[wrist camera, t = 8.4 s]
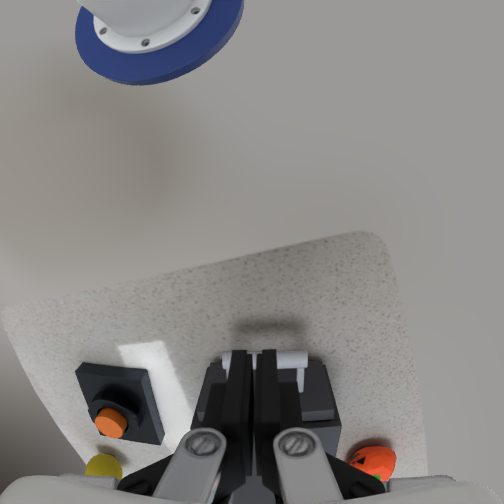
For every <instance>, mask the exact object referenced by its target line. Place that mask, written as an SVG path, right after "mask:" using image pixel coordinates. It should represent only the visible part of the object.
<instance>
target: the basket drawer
mask: <svg viewBox="0 0 504 504" xmlns="http://www.w3.org/2000/svg"><path fill="white" fill-rule="evenodd" d="M257 353H262V352H247V354H252V356H253V375H254V395H255V380H256V357H257ZM276 354H277V371H278V382H289V381H297V383H298V389H299V396H300V404H301V411H302V419H303V423H310V422H322V420H329V419H333V417H334V410H335V409H334V405H333V402H332V398H331V394H330V390H329V386H328V382H327V379H326V375H325V371H324V368H323V364H322V361H308V353H307V350H297V351H276ZM231 355H232V352H223V355H222V363H211V364H210V368H209V371H208V375H207V378H206V382H205V385H204V389H203V393H202V396H201V400H200V403H199V407H198V411H197V414H198V419H199V421H201V422H203V418H204V414H205V409H206V405H207V401H208V396H209V392H210V388H211V384H212V382H227V379H228V373H229V367H230V361H231Z"/></svg>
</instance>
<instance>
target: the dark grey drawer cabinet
mask: <svg viewBox="0 0 504 504" xmlns="http://www.w3.org/2000/svg"><path fill="white" fill-rule="evenodd" d="M209 368H210V367H208V368H207V372H206V375H205V378H204V382H203V385H202V389H201V392H200V396H199V399H198V403H197V406H196V410H195V413H194V417H193V420H192V424H191V427H190V429H191V430H194V429H197V428H201V427H202V422H201V421H199V419H198V414H197V411H198V407H199V403H200V400H201V396H202V393H203V389H204V385H205V382H206V378H207V375H208V371H209ZM323 368H324V371H325V375H326V379H327V382H328V386H329V390H330V394H331V398H332V402H333V405H334V409H335V410H334V417H333V419H329V420H322V422H310V423H303V427H304V428H306V429H308V430H311V431H313V432H314V433H315V434H316V435H317V436H318V437H319V439H320V441H321V444H322V447H323V449H324V451H325V452H326V453H328V454H330V455H332V456H334V457H335V456H336V452H337V447H338V442H339V437H340V432H341V427H342V425H341V421H340V417H339V413H338V410H337V406H336V402H335V398H334V395H333V391H332V387H331V384H330V380H329V376H328V373H327V369H326V366H325V365H323ZM232 504H274V499H273V492H272V491H270V490H269V489H267V488H266V487H265V486H263V484H262V476H257V471H256V455H255V439H254V447H253V468H252V476H246V484H244V485H243V486H241V487H240V488H238V489H237V490H235V494H234V499H233V502H232Z"/></svg>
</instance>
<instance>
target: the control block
mask: <svg viewBox="0 0 504 504" xmlns="http://www.w3.org/2000/svg"><path fill="white" fill-rule="evenodd" d="M75 373H76V376H77V379H78V381H79V384H80V387H81V390H82V392H83V395H84V397H85V400H86V402H87V405H88V407H89V409H88V412H89V415H90V417H91V419H92V421H93V422H94V423H95V419H96V417H97V416H98V414H99V413H100V411H101V410H102V409H103V408H111V409H113V410H115V411H117V412H119V413H120V414H121V415H122V416H123V417H124V418H125V419H126V421H127V427H126V429H125V431H124V433H123V435H122V436H121V437H120V438H118V439H123V440H129V441H135V442H141V443H147V444H154V445H161V443H162V440H163V437H164V431H163V428H162V425H161V421H160V418H159V414H158V411H157V407H156V404H155V400H154V396H153V393H152V389H151V385H150V381H149V377H148V373H147V370H143V369H132V368H123V367H114V366H105V365H97V364H90V363H82V364H81V365H80V366H79V367H78V369H77V370H76V371H75ZM98 431H99V429H98ZM99 433H100V435H103V436H106V435H105V434H103V433H102V432H101V431H99Z"/></svg>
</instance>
